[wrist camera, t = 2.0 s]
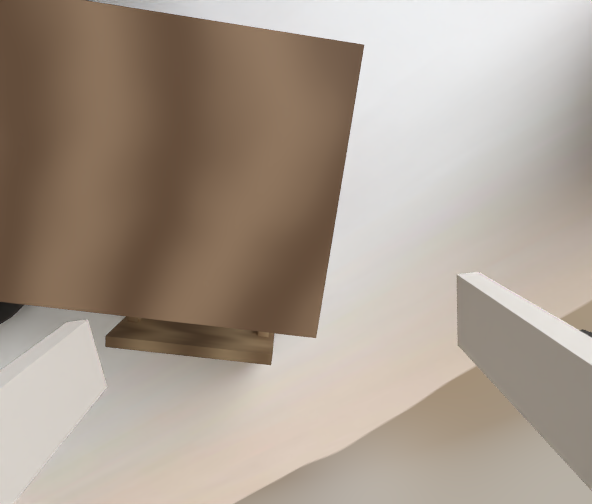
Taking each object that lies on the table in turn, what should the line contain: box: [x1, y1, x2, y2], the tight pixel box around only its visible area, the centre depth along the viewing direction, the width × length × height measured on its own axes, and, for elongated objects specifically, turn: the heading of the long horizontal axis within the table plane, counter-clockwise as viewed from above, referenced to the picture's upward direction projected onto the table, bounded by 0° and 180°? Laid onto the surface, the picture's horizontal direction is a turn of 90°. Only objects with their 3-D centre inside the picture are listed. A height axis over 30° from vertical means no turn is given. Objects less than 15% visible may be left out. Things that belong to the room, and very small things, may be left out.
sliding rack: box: [105, 316, 274, 365], centre depth 30 cm, size 14×20×4 cm
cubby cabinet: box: [0, 0, 364, 338], centre depth 23 cm, size 16×13×16 cm
